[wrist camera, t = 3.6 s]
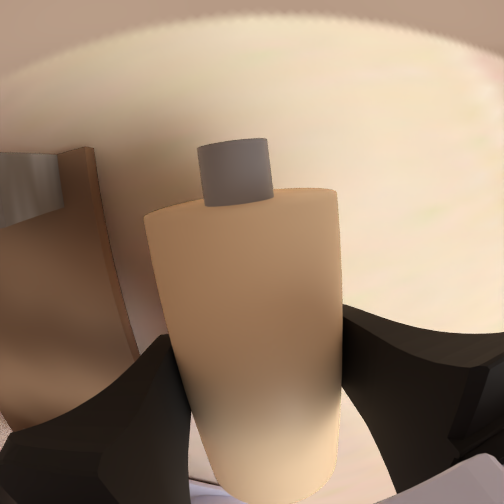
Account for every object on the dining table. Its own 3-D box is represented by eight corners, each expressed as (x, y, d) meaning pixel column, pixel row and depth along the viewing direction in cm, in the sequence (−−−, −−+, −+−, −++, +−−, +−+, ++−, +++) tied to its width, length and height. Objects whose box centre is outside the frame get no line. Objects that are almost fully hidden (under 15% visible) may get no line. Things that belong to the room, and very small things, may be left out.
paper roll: (316, 427, 14) (350, 503, 9) (216, 446, 13) (224, 530, 9) (298, 142, 11) (366, 124, 6) (152, 161, 10) (108, 154, 5)
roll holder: (173, 442, 15) (170, 516, 10) (30, 439, 14) (5, 493, 9) (93, 148, 11) (29, 139, 6) (-62, 203, 10) (-127, 221, 5)
